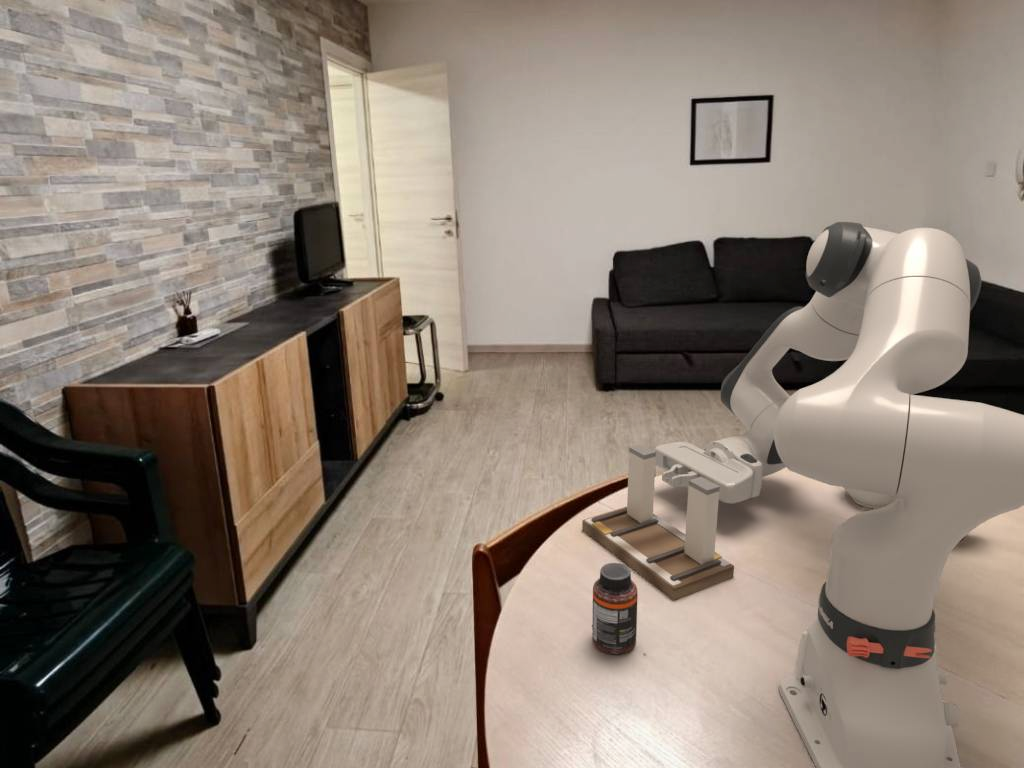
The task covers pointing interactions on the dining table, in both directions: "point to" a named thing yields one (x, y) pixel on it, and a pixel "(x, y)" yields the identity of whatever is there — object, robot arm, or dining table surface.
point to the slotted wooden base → (656, 552)
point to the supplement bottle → (614, 610)
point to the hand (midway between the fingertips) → (667, 480)
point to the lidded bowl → (870, 498)
